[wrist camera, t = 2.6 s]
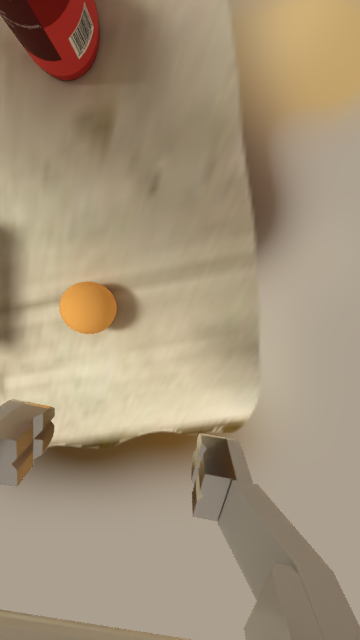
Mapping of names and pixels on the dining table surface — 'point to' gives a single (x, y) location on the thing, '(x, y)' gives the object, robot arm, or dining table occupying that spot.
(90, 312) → the ball
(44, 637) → the robot arm
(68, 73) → the canned food
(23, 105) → the dining table surface
